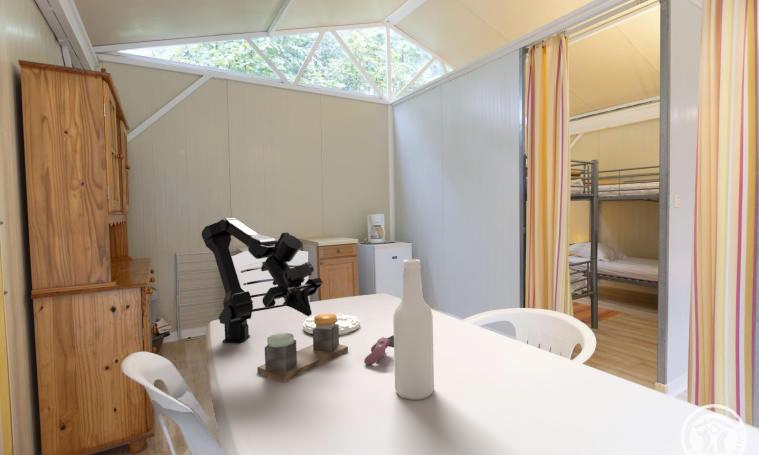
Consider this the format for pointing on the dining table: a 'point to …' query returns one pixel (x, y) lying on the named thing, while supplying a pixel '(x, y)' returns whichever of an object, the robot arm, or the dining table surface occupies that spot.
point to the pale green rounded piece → (280, 340)
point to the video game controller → (377, 351)
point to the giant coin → (343, 322)
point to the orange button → (325, 321)
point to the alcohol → (413, 338)
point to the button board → (302, 355)
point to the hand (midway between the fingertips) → (310, 315)
